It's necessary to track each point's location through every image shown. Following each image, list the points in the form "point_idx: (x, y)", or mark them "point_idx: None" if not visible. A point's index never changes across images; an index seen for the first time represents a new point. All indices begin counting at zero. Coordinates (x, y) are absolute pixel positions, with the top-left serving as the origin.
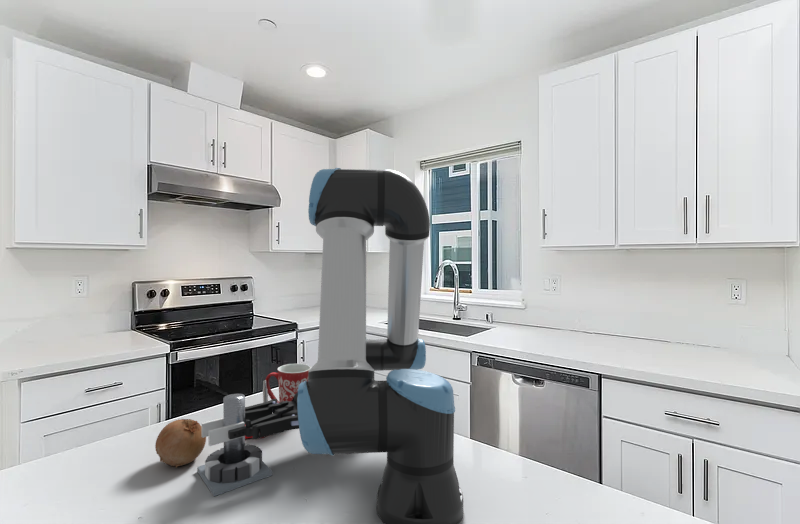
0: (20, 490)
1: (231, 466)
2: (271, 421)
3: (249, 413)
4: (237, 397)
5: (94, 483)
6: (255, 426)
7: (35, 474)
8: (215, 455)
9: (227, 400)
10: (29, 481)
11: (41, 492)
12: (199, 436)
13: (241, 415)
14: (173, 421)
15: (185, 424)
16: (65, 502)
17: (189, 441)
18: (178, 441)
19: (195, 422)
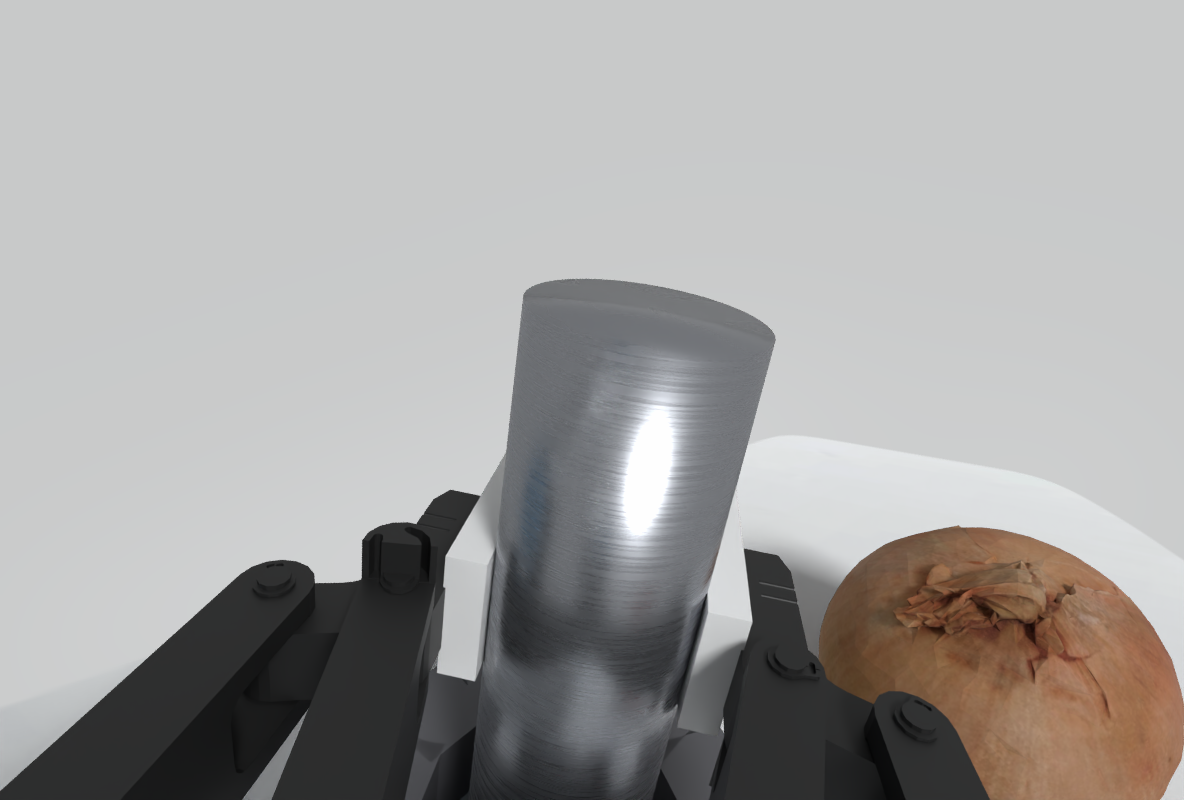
0: (921, 466)
1: (428, 716)
2: (113, 754)
3: (728, 776)
4: (601, 309)
5: (872, 536)
6: (262, 572)
7: (1018, 497)
8: (675, 739)
9: (596, 280)
10: (972, 483)
11: (883, 477)
12: (906, 678)
13: (504, 495)
14: (1076, 559)
15: (987, 569)
16: (784, 481)
17: (855, 621)
18: (857, 572)
19: (1006, 611)
